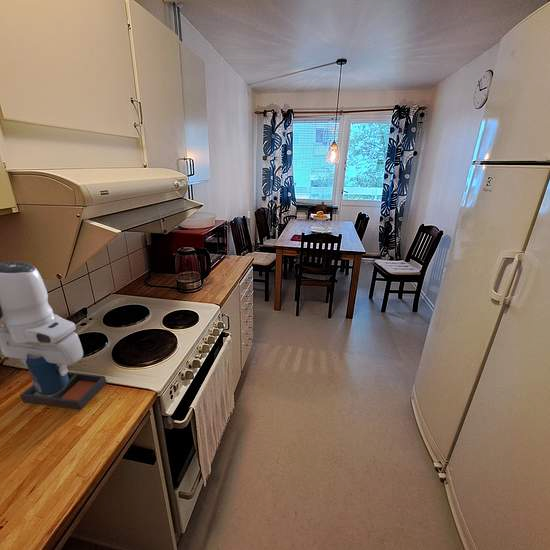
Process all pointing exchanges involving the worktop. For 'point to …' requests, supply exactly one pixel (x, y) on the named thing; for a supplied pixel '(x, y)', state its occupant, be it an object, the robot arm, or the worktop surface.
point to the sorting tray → (69, 392)
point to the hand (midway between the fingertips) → (49, 372)
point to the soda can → (45, 376)
